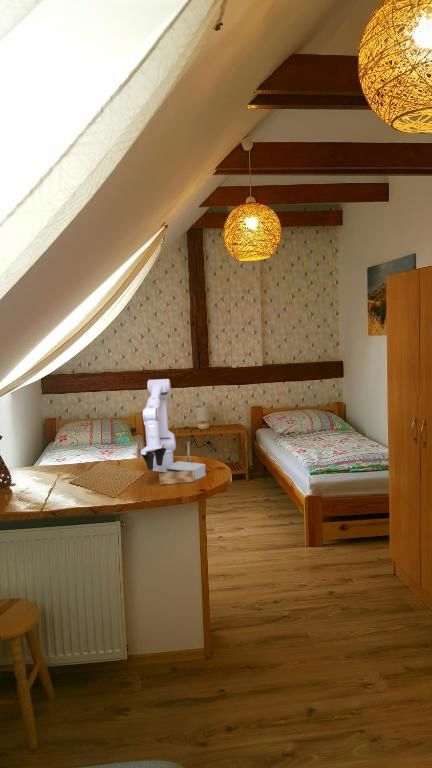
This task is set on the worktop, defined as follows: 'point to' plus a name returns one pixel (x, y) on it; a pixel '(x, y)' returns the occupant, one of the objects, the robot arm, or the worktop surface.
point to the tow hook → (189, 453)
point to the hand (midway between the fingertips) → (155, 467)
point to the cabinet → (187, 468)
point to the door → (176, 477)
